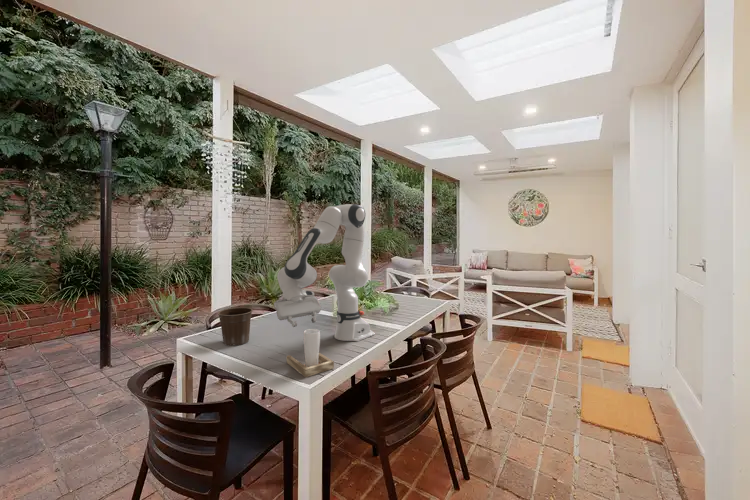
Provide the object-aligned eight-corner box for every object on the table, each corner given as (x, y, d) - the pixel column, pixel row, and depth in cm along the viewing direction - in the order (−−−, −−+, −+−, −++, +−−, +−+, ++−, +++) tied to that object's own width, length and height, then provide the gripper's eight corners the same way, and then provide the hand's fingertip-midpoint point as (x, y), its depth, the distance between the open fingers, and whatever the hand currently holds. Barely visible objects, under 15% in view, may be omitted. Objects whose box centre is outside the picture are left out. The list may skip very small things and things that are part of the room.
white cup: (300, 368, 130) (300, 332, 129) (308, 362, 136) (308, 328, 135) (314, 371, 128) (314, 334, 127) (322, 364, 134) (322, 329, 133)
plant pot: (210, 344, 157) (210, 313, 156) (236, 335, 172) (235, 306, 171) (235, 349, 151) (235, 316, 150) (259, 339, 166) (259, 309, 165)
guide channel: (313, 355, 145) (313, 349, 145) (333, 368, 132) (333, 361, 132) (286, 362, 137) (286, 355, 137) (305, 377, 123) (305, 369, 123)
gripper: (274, 297, 136) (284, 324, 129) (316, 291, 149) (327, 316, 142) (270, 305, 139) (280, 332, 132) (312, 299, 152) (322, 323, 146)
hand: (305, 323), depth 137 cm, fingers open, 8 cm apart
